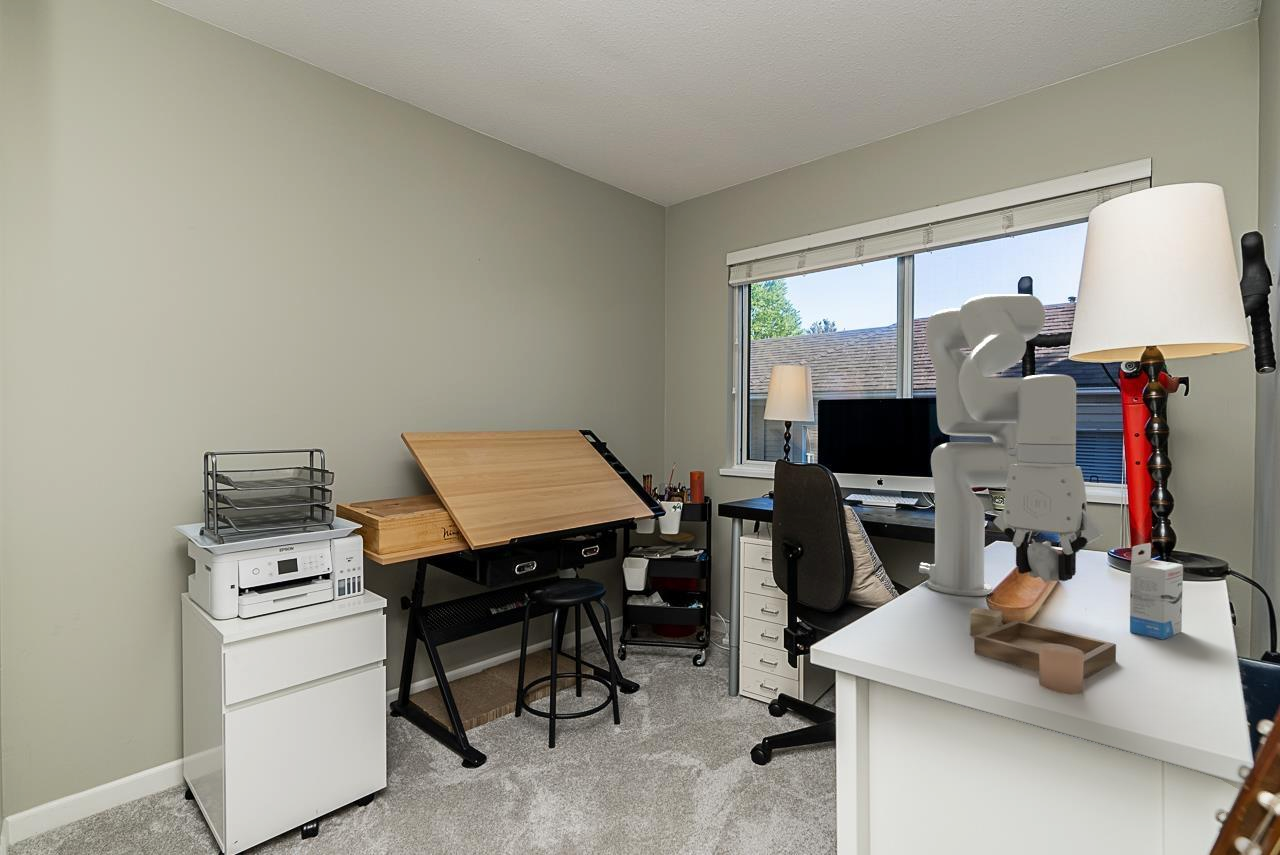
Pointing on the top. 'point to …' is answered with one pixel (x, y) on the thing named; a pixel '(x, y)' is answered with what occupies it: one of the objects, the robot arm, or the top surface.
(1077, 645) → the walnut tray
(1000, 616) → the oak block
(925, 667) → the top surface
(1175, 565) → the ink box
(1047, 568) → the figurine
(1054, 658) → the oval beige cylinder
